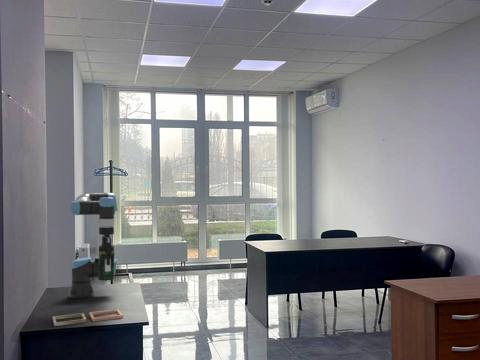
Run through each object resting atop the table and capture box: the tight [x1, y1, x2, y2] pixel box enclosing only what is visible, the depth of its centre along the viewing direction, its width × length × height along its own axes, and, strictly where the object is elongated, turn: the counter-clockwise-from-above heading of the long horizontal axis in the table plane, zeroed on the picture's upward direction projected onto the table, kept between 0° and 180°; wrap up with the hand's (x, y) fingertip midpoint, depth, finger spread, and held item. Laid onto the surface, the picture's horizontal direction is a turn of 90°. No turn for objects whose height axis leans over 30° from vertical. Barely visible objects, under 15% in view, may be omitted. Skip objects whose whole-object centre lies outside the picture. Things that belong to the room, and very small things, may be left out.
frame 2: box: [88, 308, 124, 322], centre depth 241 cm, size 13×15×2 cm
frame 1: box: [52, 312, 87, 327], centre depth 233 cm, size 13×15×2 cm
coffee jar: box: [97, 244, 115, 282], centre depth 241 cm, size 10×8×19 cm
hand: (106, 269), depth 241 cm, fingers closed on coffee jar, 9 cm apart
